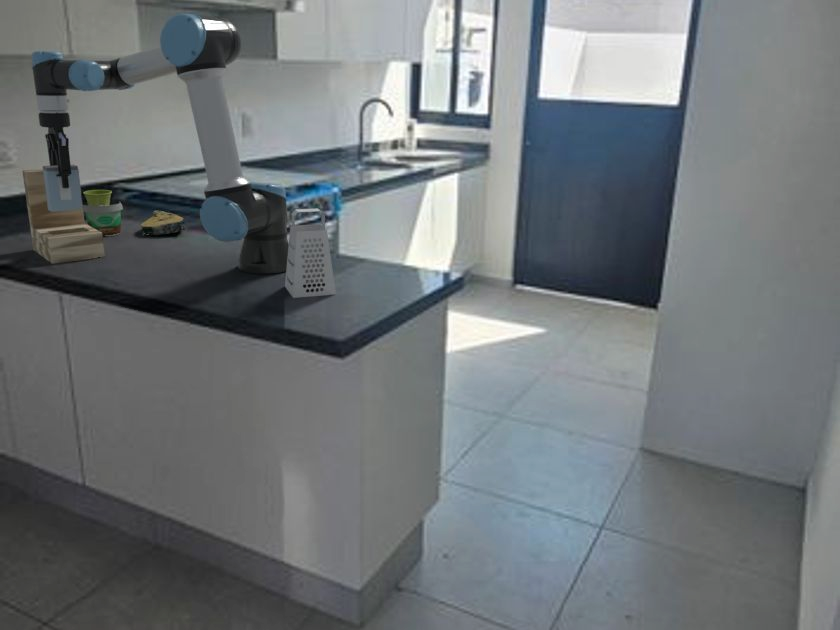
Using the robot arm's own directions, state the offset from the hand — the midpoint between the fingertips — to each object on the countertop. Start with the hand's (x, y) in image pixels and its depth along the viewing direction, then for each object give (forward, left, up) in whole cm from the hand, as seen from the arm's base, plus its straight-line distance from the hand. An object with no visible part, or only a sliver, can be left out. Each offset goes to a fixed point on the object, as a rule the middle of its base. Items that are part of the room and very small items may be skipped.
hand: (63, 198), depth 211 cm
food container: (+21, -17, -17) cm, 32 cm away
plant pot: (+55, -25, -17) cm, 63 cm away
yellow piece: (+21, -36, -17) cm, 45 cm away
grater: (-69, -37, -17) cm, 80 cm away
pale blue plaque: (0, 0, -3) cm, 3 cm away
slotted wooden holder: (+3, 0, -16) cm, 17 cm away
